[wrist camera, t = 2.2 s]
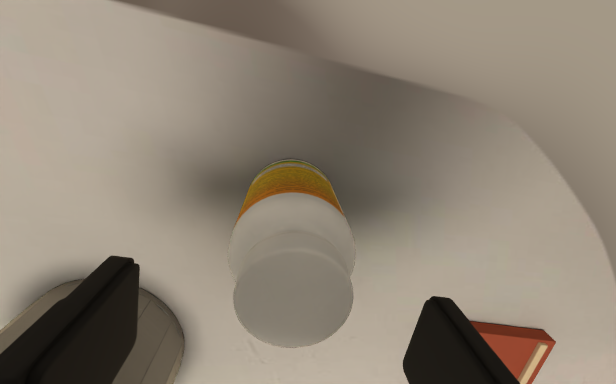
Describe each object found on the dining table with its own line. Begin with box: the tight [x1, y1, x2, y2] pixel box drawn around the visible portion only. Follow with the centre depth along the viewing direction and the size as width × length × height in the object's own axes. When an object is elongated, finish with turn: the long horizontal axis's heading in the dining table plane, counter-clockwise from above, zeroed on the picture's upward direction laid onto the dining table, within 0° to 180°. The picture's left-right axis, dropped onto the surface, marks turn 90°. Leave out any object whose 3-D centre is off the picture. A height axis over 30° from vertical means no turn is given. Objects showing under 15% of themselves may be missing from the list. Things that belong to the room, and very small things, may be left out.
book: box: [470, 321, 556, 384], centre depth 24 cm, size 9×8×2 cm
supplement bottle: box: [228, 159, 356, 348], centre depth 14 cm, size 5×5×10 cm
